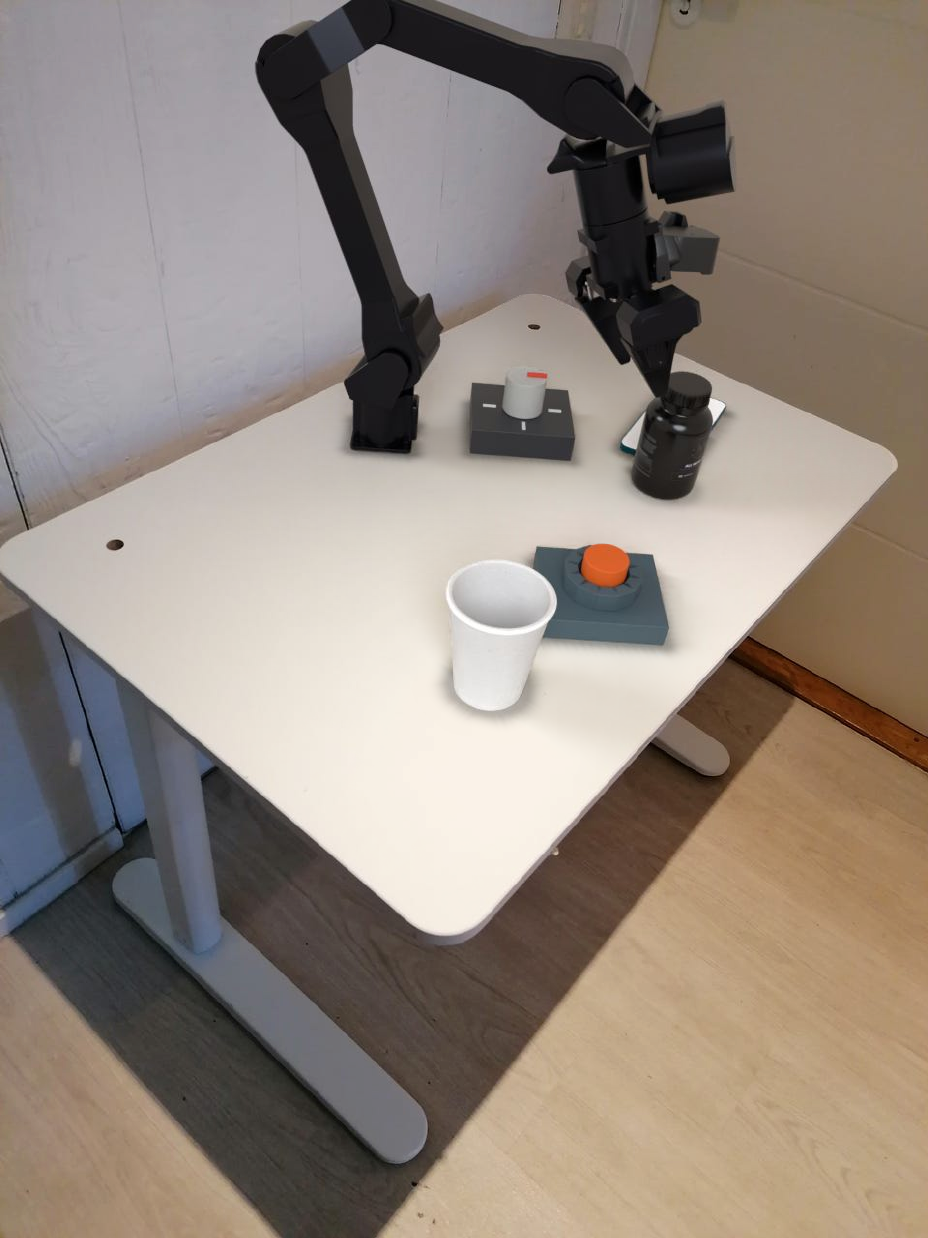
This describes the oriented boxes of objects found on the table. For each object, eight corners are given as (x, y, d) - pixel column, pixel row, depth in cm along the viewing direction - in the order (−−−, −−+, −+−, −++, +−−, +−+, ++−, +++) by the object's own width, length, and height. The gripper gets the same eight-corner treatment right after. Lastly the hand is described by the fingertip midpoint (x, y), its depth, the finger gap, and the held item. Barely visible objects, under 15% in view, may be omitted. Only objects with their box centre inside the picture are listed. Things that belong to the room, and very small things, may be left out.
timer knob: (502, 417, 104) (507, 381, 102) (501, 396, 108) (506, 361, 105) (543, 420, 105) (548, 384, 102) (540, 399, 108) (546, 364, 105)
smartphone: (683, 474, 105) (727, 410, 116) (685, 467, 104) (729, 403, 115) (615, 450, 107) (664, 389, 118) (617, 443, 107) (666, 382, 117)
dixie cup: (559, 700, 79) (579, 609, 72) (473, 738, 75) (486, 646, 68) (501, 636, 84) (515, 546, 77) (418, 669, 80) (425, 577, 73)
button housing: (538, 637, 84) (545, 603, 81) (533, 564, 91) (539, 530, 89) (663, 645, 85) (674, 612, 82) (648, 572, 92) (657, 538, 89)
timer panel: (469, 453, 104) (472, 428, 102) (469, 405, 112) (472, 380, 109) (570, 461, 105) (575, 436, 103) (564, 412, 112) (568, 388, 110)
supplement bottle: (692, 507, 100) (722, 408, 92) (627, 495, 101) (650, 395, 93) (695, 469, 105) (723, 371, 97) (632, 458, 106) (655, 360, 97)
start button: (582, 586, 84) (586, 570, 83) (578, 557, 87) (582, 541, 86) (628, 589, 84) (632, 573, 83) (622, 560, 87) (626, 544, 86)
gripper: (751, 203, 76) (767, 384, 86) (660, 165, 92) (681, 322, 101) (619, 250, 76) (648, 426, 85) (549, 204, 91) (581, 358, 100)
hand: (642, 378), depth 93 cm, fingers open, 9 cm apart
